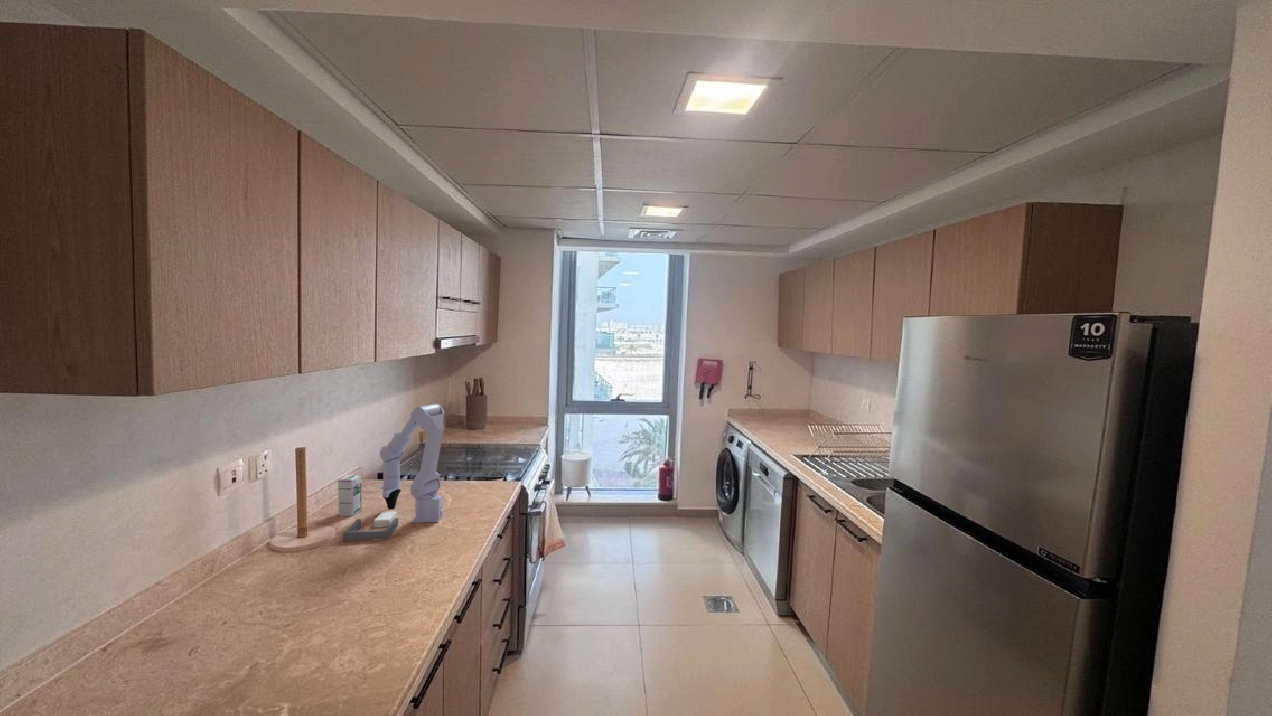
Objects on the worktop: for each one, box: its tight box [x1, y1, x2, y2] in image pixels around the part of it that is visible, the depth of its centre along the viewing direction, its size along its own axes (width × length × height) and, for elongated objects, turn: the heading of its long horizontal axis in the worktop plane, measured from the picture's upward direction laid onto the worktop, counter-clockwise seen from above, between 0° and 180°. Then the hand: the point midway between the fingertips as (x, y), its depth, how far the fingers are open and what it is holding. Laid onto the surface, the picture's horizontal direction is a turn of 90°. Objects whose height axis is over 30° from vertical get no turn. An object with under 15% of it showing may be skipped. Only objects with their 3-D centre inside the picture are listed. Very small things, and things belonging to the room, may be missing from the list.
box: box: [342, 517, 399, 542], centre depth 172 cm, size 14×12×3 cm
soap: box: [373, 510, 398, 528], centre depth 182 cm, size 9×6×3 cm, turn 10°
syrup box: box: [337, 474, 363, 517], centre depth 189 cm, size 6×6×14 cm
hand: (391, 508), depth 192 cm, fingers closed
